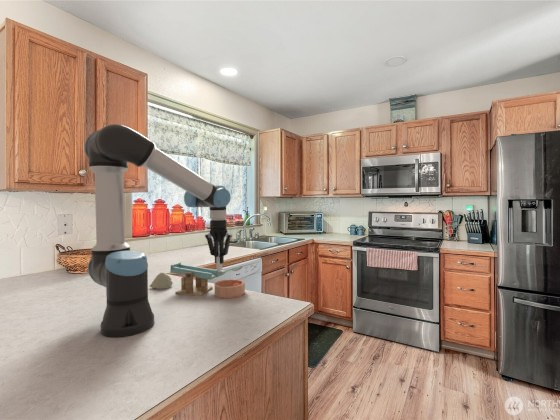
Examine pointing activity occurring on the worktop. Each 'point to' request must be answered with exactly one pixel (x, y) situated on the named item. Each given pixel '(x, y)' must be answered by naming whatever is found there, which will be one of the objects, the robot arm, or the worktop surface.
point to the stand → (191, 289)
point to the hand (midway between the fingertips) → (219, 270)
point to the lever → (195, 271)
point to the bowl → (229, 288)
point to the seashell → (161, 281)
